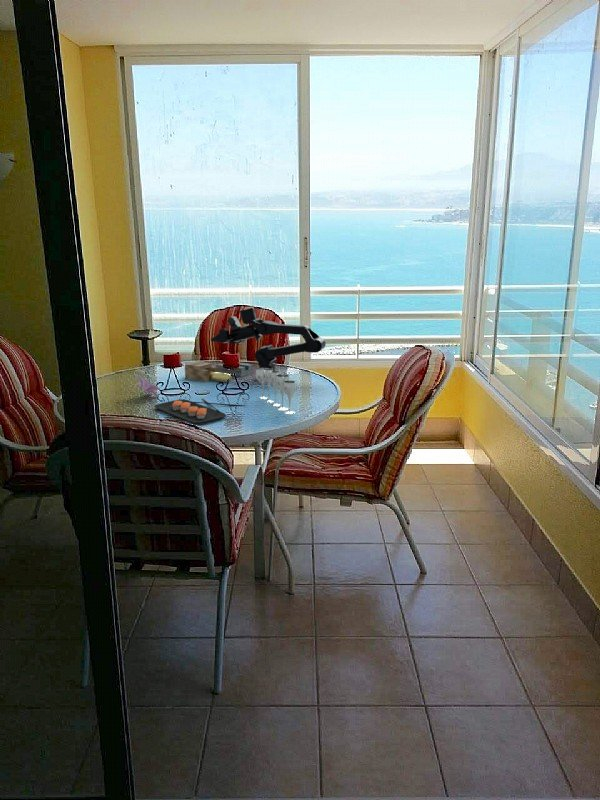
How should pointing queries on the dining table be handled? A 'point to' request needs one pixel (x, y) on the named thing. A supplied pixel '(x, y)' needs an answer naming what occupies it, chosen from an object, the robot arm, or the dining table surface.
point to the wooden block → (199, 370)
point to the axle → (219, 376)
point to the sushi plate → (192, 410)
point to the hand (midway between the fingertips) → (216, 340)
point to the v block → (236, 370)
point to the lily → (147, 386)
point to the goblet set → (276, 386)
